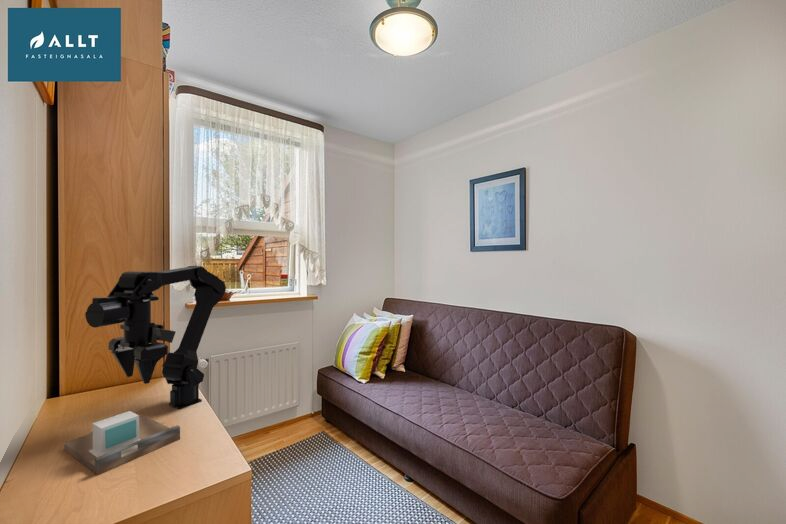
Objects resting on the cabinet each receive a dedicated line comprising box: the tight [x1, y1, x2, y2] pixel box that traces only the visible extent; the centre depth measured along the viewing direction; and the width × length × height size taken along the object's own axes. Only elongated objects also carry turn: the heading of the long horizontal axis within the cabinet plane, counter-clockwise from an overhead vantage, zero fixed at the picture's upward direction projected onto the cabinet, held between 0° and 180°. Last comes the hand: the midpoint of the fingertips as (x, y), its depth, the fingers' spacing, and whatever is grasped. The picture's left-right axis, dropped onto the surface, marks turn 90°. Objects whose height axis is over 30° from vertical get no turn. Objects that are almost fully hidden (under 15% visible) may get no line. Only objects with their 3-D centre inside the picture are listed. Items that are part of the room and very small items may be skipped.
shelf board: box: [63, 414, 181, 476], centre depth 81 cm, size 16×18×3 cm
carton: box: [91, 410, 140, 456], centre depth 77 cm, size 5×7×6 cm
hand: (138, 379), depth 89 cm, fingers open, 9 cm apart
